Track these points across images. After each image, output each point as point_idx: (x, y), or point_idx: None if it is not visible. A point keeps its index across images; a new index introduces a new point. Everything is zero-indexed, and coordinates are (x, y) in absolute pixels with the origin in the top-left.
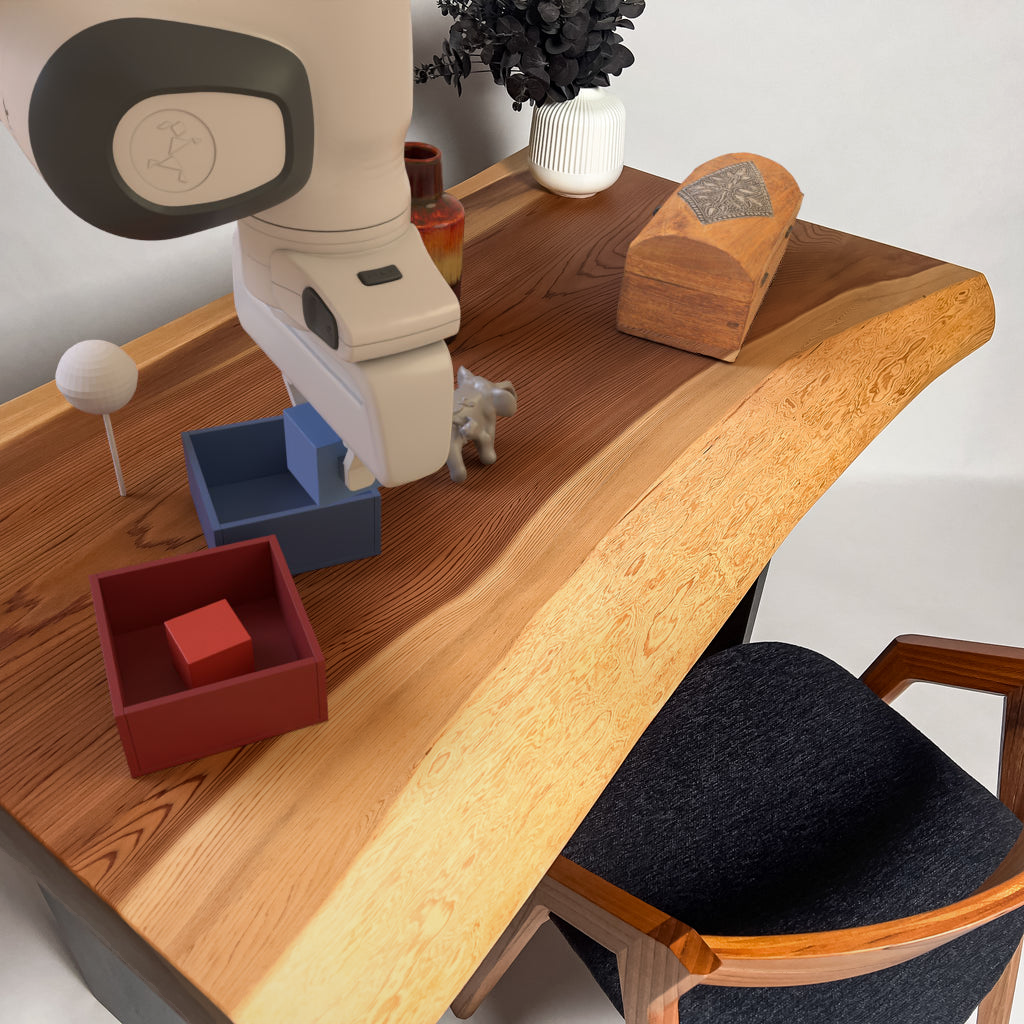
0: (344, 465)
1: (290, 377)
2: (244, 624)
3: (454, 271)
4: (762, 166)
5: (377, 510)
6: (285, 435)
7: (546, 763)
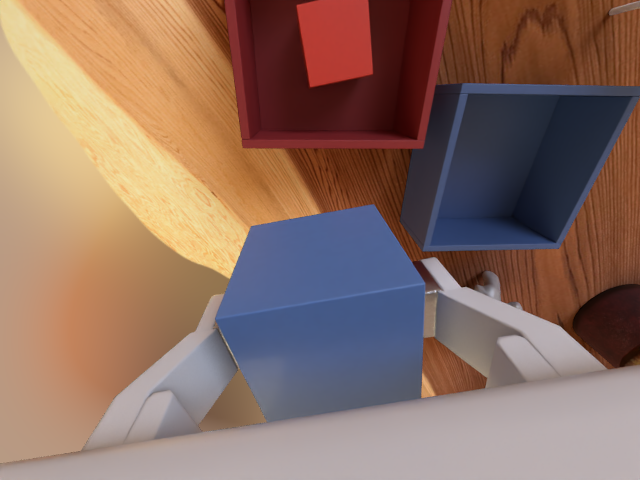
0: (210, 328)
1: (459, 434)
2: (373, 94)
3: None
4: None
5: (416, 240)
6: (393, 239)
7: (191, 255)
